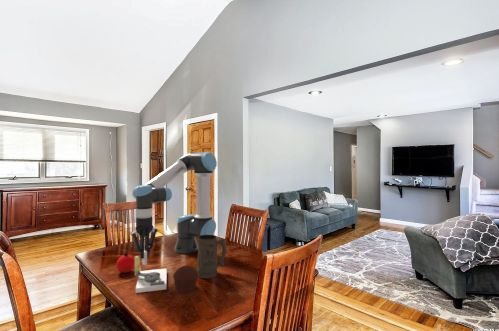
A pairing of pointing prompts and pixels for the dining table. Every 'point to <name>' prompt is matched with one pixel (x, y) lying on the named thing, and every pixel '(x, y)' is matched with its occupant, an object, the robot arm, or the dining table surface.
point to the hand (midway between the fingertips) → (144, 264)
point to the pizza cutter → (147, 276)
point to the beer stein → (209, 256)
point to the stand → (154, 285)
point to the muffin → (185, 279)
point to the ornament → (125, 263)
